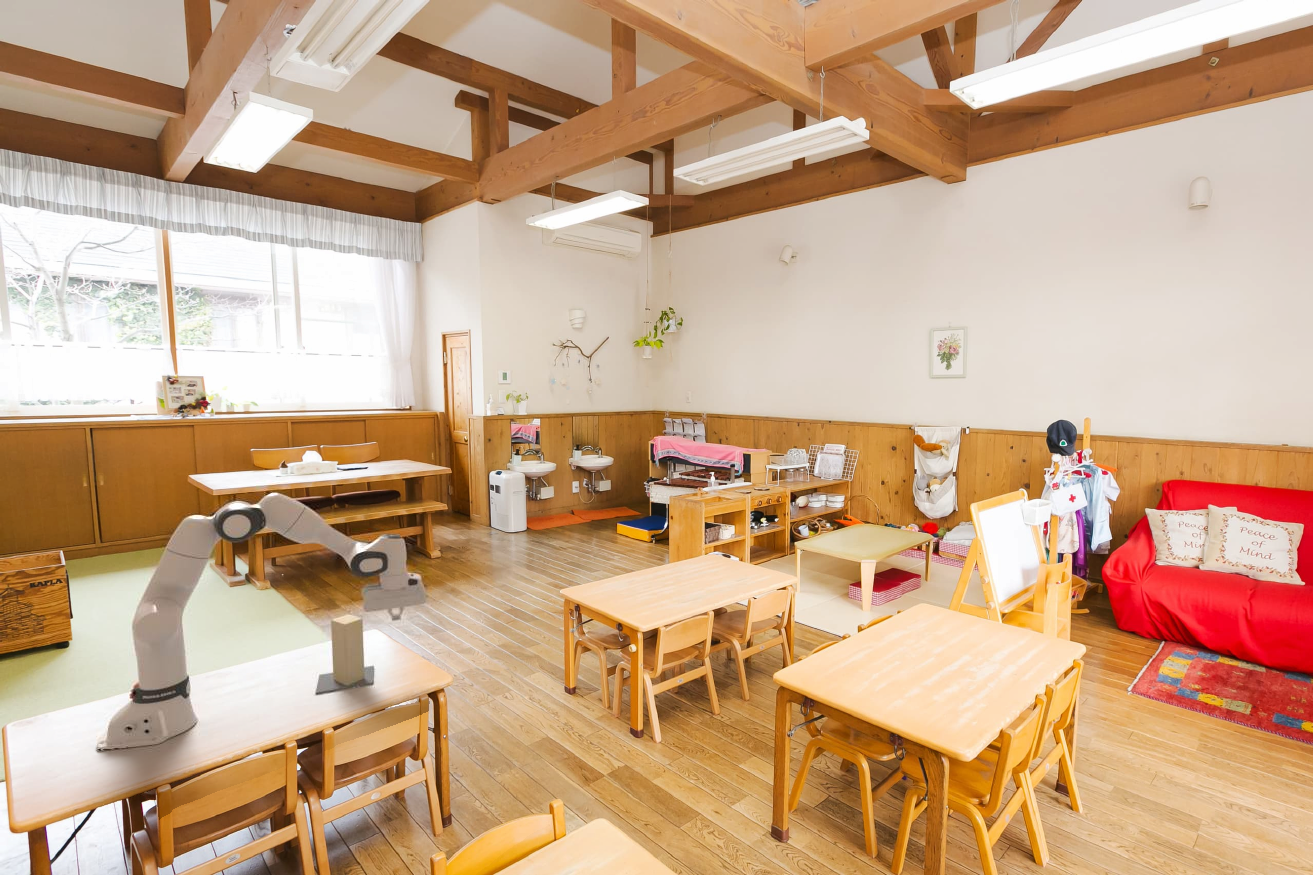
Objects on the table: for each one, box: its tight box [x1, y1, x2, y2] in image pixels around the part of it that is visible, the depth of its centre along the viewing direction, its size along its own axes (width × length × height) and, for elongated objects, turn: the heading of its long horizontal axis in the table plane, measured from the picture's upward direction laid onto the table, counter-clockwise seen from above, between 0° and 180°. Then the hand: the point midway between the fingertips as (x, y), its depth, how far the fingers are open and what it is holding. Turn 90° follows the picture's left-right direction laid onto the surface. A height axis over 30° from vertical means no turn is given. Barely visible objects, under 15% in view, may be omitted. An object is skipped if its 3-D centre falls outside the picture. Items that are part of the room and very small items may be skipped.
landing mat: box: [314, 665, 375, 695], centre depth 215 cm, size 17×14×1 cm
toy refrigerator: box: [330, 613, 365, 686], centre depth 213 cm, size 8×7×21 cm
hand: (396, 619), depth 219 cm, fingers closed
